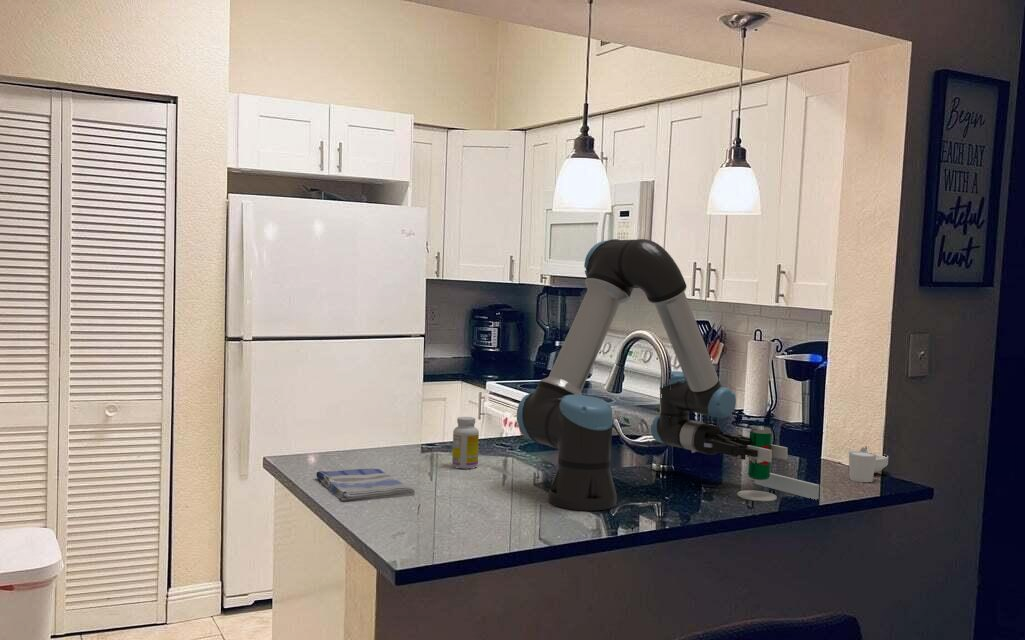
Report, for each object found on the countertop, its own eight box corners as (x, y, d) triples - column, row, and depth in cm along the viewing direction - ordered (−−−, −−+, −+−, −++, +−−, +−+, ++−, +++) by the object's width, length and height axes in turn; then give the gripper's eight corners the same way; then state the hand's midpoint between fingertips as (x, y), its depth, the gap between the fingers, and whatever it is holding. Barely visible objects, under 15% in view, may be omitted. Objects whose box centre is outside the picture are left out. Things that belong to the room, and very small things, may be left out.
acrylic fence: (754, 483, 221) (754, 470, 221) (756, 483, 222) (757, 469, 222) (815, 500, 207) (816, 485, 207) (818, 499, 207) (819, 484, 207)
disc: (733, 497, 206) (733, 495, 206) (743, 489, 214) (743, 488, 214) (772, 503, 202) (772, 501, 202) (780, 495, 210) (780, 494, 210)
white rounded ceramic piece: (849, 474, 236) (850, 449, 236) (845, 466, 248) (847, 442, 247) (889, 478, 233) (891, 453, 233) (884, 469, 245) (886, 445, 244)
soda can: (773, 477, 208) (775, 427, 208) (764, 481, 204) (766, 430, 204) (753, 474, 212) (755, 424, 211) (744, 477, 208) (746, 427, 207)
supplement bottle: (480, 465, 231) (481, 416, 230) (474, 470, 225) (476, 420, 224) (455, 463, 232) (457, 415, 232) (449, 468, 226) (450, 419, 225)
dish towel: (342, 505, 189) (342, 492, 189) (313, 480, 210) (313, 469, 210) (417, 498, 197) (417, 486, 197) (382, 475, 218) (382, 464, 218)
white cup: (877, 484, 226) (879, 457, 226) (849, 482, 227) (851, 455, 227) (872, 478, 233) (873, 452, 232) (845, 476, 234) (846, 450, 234)
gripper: (725, 449, 228) (802, 466, 209) (676, 456, 217) (752, 475, 198) (726, 420, 227) (803, 435, 208) (678, 425, 217) (754, 442, 198)
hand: (778, 454), depth 203 cm, fingers closed on soda can, 5 cm apart
